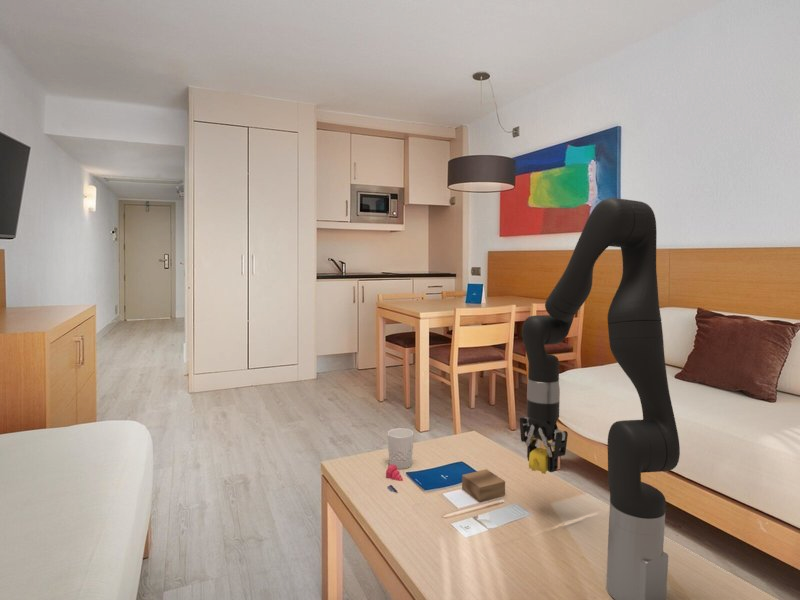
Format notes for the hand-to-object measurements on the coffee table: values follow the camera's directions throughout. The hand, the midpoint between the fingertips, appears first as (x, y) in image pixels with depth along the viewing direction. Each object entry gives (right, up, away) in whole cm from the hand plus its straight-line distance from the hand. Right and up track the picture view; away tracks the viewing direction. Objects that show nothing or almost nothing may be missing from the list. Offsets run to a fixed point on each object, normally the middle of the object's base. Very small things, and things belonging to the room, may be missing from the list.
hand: (541, 465), depth 117 cm
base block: (-12, -11, +11) cm, 20 cm away
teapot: (0, -1, 0) cm, 1 cm away
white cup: (-34, -10, +30) cm, 47 cm away
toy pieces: (-33, -12, +17) cm, 39 cm away
